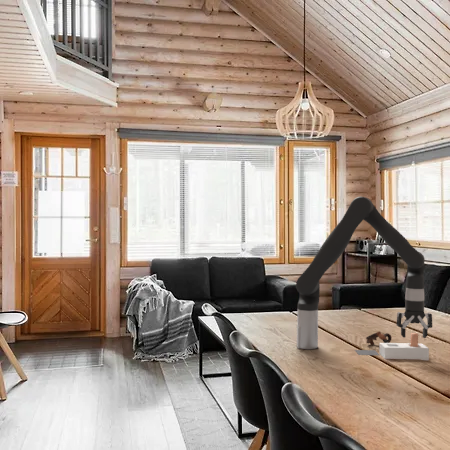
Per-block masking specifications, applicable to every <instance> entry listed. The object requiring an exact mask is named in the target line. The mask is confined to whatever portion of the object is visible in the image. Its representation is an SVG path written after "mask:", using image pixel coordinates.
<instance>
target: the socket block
mask: <svg viewBox="0 0 450 450" xmlns="http://www.w3.org/2000/svg"><path fill="white" fill-rule="evenodd" d="M378 345H379V350H378V352H379V353H378V354H379V356H381V357H382V358H383V359H387V360H391V359H392V360H394V359H395V360H422V361H429V360H430V359H429V357H430V348H429V347H428V346H427V345H425V344H423V343H419V342H418V347H411V342H410V343H409V342H406V343H405V342H390V343H384V342H379V344H378Z"/></svg>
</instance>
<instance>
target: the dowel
mask: <svg viewBox="0 0 450 450" xmlns="http://www.w3.org/2000/svg"><path fill="white" fill-rule="evenodd" d="M410 343H411V347H418V343H419V333H415V332H410Z"/></svg>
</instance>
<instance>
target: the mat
mask: <svg viewBox="0 0 450 450" xmlns="http://www.w3.org/2000/svg"><path fill="white" fill-rule="evenodd" d="M354 351H355V353H356V354H357V355H358V356H380V354H379V353H378V351H376V350H374V349H369V350H368V349H354Z"/></svg>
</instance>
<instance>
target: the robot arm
mask: <svg viewBox="0 0 450 450" xmlns="http://www.w3.org/2000/svg"><path fill="white" fill-rule="evenodd" d="M363 221H364V222H366V223H367V224H368V225H370V226H371V227H372V228H373V229H374V230H375V231H376V232H377V234H378V235H379V236H380V238H381V239H382V240H383V241H384V242H385V243H386V244H387V245H388V246H389V248H390V249H392V250H393V251H394V252H395V253H396V254H397V255H398V256H399V257H400V258H401V260H402V261H403V262H404V263H405V264H406V265H407V274H406V281H405V284H406V286H405V297H404V299H405V300H404V302H405V306H404V310H405V311H404V312H399V311H397V314H396V326H397V327H399V328H400V335H401V336H402V338H406V333H407V332H406V327H407V326H409V324H420V325H421V326H422V338H423V339H426V338H427V337H428V330H429V329H432V328H433V313H430V312H427V313H426V312H425V289H424V288H425V279H424V278H425V277H424V272H425V257H424V255H423V253H421V252H419V251H418V250H417V249H416V248H415V247H413V246H412V245H411V244H410V242H409V241H408V240H407V238H406V237H405V236H403V234H402V233H401V232H399V231H398V229H396V228H395V227H394V226H393V225H392V224H391V223H390V222H389V221H388V220H387V219H385V217H383V215H382V214H381V213H380V212H379V211H378V209H377V207H376V206H375V205H374V204H373V201H372V200H371V199H369V198H368V197H365V196H357V197H355V198H354V199H353V200H352V201H351V203H350V205H348V208H347V210H346V211H345V214H344V215H343V217H342V218H341V220H340V221H339V222H338V224H337V225H336V226H335V227H334V229H332V231H331V232H330V234H329V235H328V236H327V237H326V239H325V240H324V242H323V243H322V244H321V246H320V248H319V249H318V251H317V253H316V255H315V256H314V257H313V260H312V261H311V262H310V263H309V265H308V266H307V268H306V269H305V270H304V271H303V272H302V273H301V274H300V276H299V277H298V278H297V279H296V283H295V289H296V290H297V293H299V298H298V302H297V321H296V322H297V325H296V346H297V349H302V350H316V349H318V348H319V347H318V346H319V304H320V292H321V291H320V290H321V289H320V287H321V286H320V281H321V279H322V278H323V276H324V275H325V273H326V272H327V271H328V270H329V269H330V268H331V267H332V266H333V265H334V264H335V263H336V262H337V261H338V260H339V258H340V257H341V256H342V255H343V253H344V251H345V250H346V248H347V247H348V245H349V243H350V242H351V239H352V237H353V235H354V233H355V231H356V229H357V228H358V227H359V225H360V224H361V223H362V222H363ZM404 317H405V319H404V320H403V318H404ZM424 318H426V319H427V320H426V321H427V322H425V321H424ZM402 320H403V321H402Z"/></svg>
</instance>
